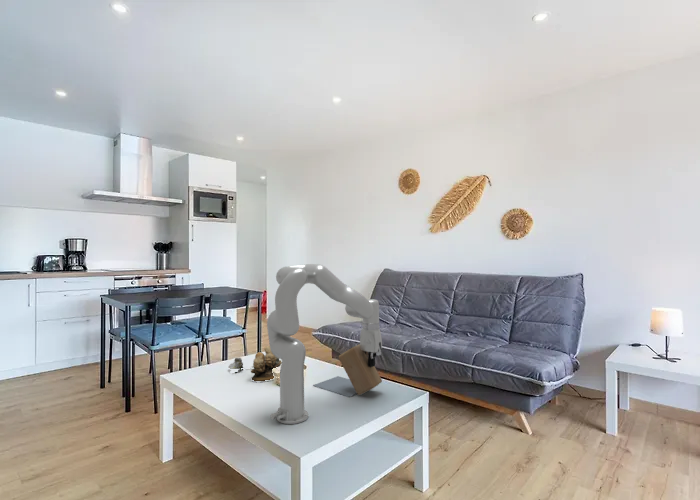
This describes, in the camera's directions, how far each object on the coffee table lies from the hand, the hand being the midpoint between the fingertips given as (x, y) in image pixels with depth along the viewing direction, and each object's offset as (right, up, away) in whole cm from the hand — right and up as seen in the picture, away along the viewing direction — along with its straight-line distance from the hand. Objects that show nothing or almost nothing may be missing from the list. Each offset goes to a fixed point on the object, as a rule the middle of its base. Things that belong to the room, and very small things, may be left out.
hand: (371, 366), depth 182 cm
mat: (-13, -13, +12) cm, 22 cm away
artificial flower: (-67, -15, +41) cm, 79 cm away
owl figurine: (-54, -14, +27) cm, 62 cm away
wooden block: (0, -11, 0) cm, 11 cm away
